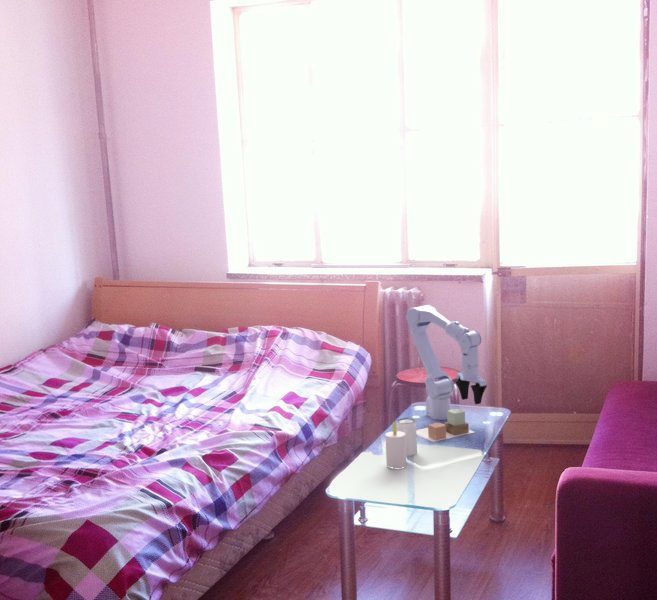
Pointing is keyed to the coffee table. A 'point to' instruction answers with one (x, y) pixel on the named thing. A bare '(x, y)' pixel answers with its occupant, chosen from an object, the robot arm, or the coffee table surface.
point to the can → (408, 434)
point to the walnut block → (457, 428)
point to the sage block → (456, 417)
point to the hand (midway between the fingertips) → (471, 401)
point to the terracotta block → (437, 431)
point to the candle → (395, 448)
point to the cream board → (425, 435)
